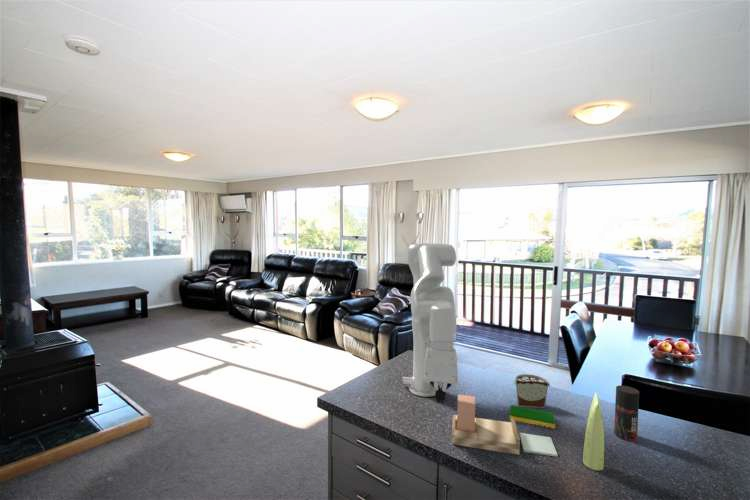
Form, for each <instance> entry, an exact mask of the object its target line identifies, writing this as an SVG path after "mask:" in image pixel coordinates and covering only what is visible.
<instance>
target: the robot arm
mask: <svg viewBox="0 0 750 500" xmlns="http://www.w3.org/2000/svg"><path fill="white" fill-rule="evenodd" d="M406 254H407V257H406V258H407V264H408V266H409V269H410V272H411V274H412V278H413V279H412V280H413V287H412V289H411V292H410V311H411V316H412V317H411V326H412V327H411V329H412V336H413V337H412V338H413V349H412V350H413V353H412V355H413V356H412V357H413V359H412V361H413V362H412V376H410V377H409V376H408V377H407V376H402V377H401V378H402V380H401V382H403V384H405V385H408V390H409V392H410V393H411V394H413V395H415V396H419V397H424V398H425V397H426V398H429V397H430V398H431V397H434V396H435V397H434V398H435V400H436V401H437V404H441V405H442V404H443V403H444V401H446V391H447V390H448V389H449V388H450V387H456V386H458V384H459V380H458V356H457V351H456V348H455V346H454V341H455V339H454V338H455V334H456V331H457V320H456V319H457V317H456V308H455V307H456V306H455V298H454V297H455V296H454V293H453V290H452V289H451V287H448V286H445V285H444V286H442V285H441V284H442V283H443V282H444V280H445V274H444V269H443V267H453V266H454V265H455V264H456V263H457V253H456V250H455V248H454V246H453V245H452V244H448V243H429V242H426V243H423V242H422V243H421V242H420V243H418V242H417V243H412V244H410V245H409V246H408V247H407V252H406ZM440 285H441V286H440ZM440 383H442V385H441V386H440Z"/></svg>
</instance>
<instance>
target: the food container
mask: <svg viewBox="0 0 750 500" xmlns="http://www.w3.org/2000/svg"><path fill="white" fill-rule="evenodd" d="M513 384H514V385H515V386H516V387H515V388H516V400H517V402H516V403H517V406H518V407H524V408H537V407H541V409H545V408H546V402H547V401H546V400H547V394H548V391H549V390H548V389H549V387H550V382H549V380H548V379H546V378H544V377H542V376H539V375H534V374H526V373H525V374H524V373H522V374H519V375H516V377H515V378H514V382H513Z"/></svg>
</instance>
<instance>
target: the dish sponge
mask: <svg viewBox="0 0 750 500" xmlns="http://www.w3.org/2000/svg"><path fill="white" fill-rule="evenodd" d="M511 418H514V419H515V422H520V423H526V424H531V425H534V424H536V425H535V426H539V425H541V427H544V426H546V427H545V428H549V427H551V429H555V428H556V421H555V414H554V413H553V412H549V411H545V410H539V409H533V408H530V407H521V406H518V405H513V404H512V405H510V407H509V420H510V421H511Z"/></svg>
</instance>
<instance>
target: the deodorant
mask: <svg viewBox="0 0 750 500" xmlns="http://www.w3.org/2000/svg"><path fill="white" fill-rule="evenodd" d="M639 402H640V391H639V389H636V388H634V387H631V386H627V385H617V386H616V387H615V403H614V404H615V405H614V406H615V409H614V422H613V424H614V425H613V427H614V428H613V434H614V436H616V437H617V438H618V439H621V440H623V441H627V442H637V440H638V428H639V426H638V424H639V409H640V408H639V406H640V403H639Z"/></svg>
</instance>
